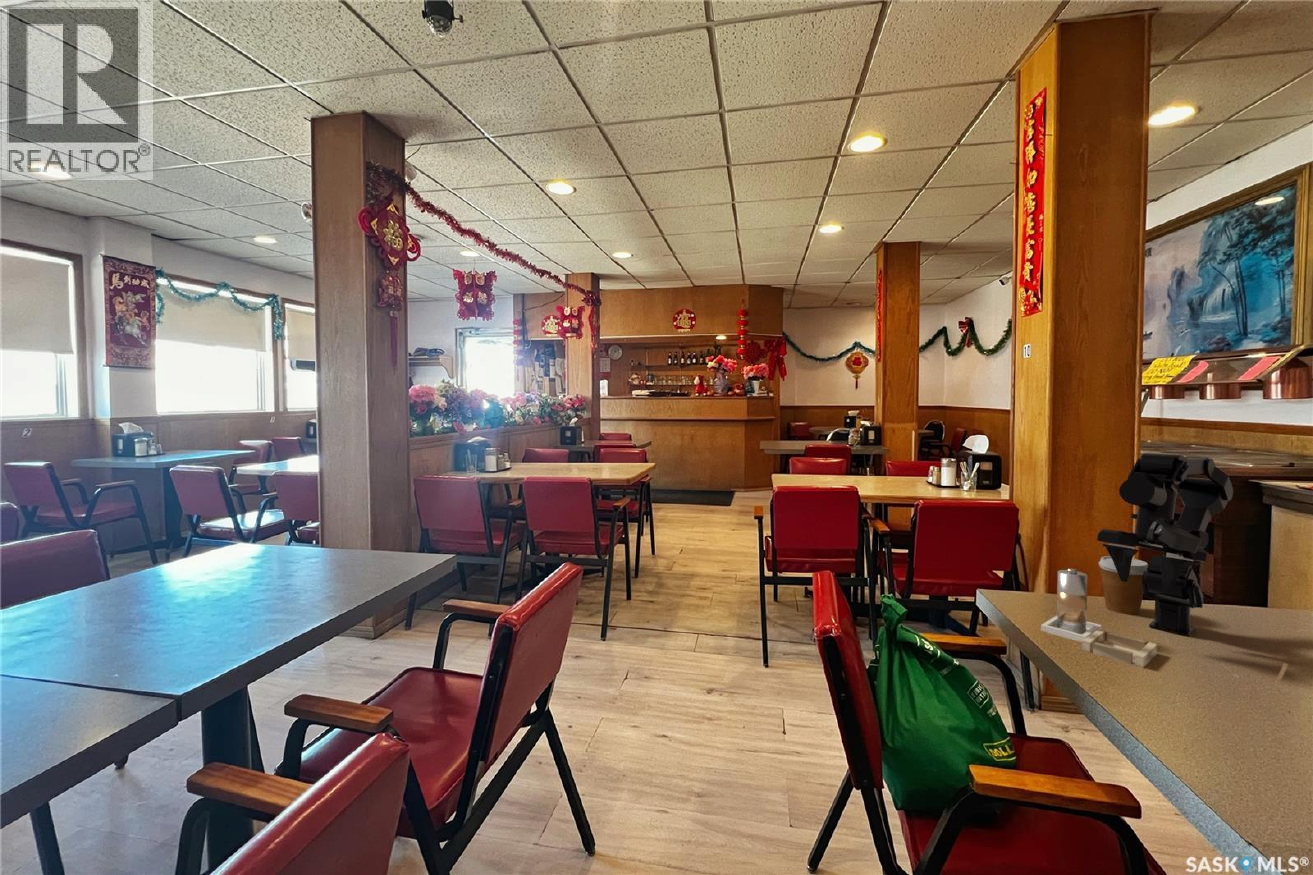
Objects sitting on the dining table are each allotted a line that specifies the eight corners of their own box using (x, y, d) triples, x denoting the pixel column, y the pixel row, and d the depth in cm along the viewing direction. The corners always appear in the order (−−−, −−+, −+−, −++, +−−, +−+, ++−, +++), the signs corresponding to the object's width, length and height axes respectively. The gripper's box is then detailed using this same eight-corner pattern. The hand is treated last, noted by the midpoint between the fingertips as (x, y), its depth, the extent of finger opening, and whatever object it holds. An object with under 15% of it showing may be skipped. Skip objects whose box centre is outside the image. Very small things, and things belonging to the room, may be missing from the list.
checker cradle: (1097, 640, 116) (1098, 629, 115) (1156, 656, 108) (1157, 644, 108) (1082, 652, 110) (1082, 640, 110) (1143, 670, 102) (1143, 657, 102)
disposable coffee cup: (1088, 602, 138) (1089, 555, 138) (1130, 603, 137) (1131, 556, 136) (1114, 616, 129) (1115, 566, 128) (1159, 617, 127) (1161, 566, 127)
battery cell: (1070, 624, 123) (1071, 565, 122) (1092, 633, 118) (1093, 572, 117) (1050, 626, 122) (1051, 567, 121) (1072, 635, 117) (1073, 573, 116)
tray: (1058, 622, 126) (1058, 614, 126) (1101, 633, 119) (1101, 625, 119) (1040, 633, 120) (1041, 625, 120) (1085, 645, 113) (1085, 636, 113)
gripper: (1148, 505, 107) (1137, 585, 106) (1239, 524, 107) (1229, 604, 106) (1100, 502, 118) (1089, 574, 117) (1183, 519, 118) (1173, 591, 117)
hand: (1145, 586), depth 114 cm, fingers open, 9 cm apart
